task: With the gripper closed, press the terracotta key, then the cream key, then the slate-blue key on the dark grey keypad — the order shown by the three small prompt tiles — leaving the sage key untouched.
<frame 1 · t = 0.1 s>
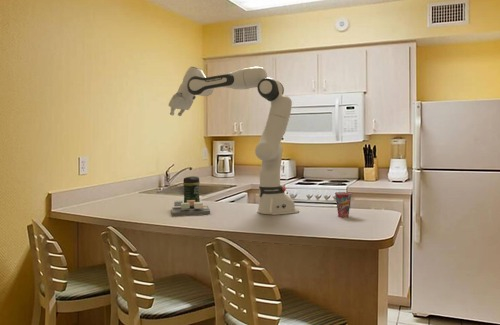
hand: (175, 115, 255), 54 cm above the countertop, tool tilted 30°, fingers open, 8 cm apart
cup: (344, 216, 224), on the countertop
key C: (191, 202, 248), point 5 cm above the countertop, slide at 0.0 cm
key A: (198, 205, 240), point 5 cm above the countertop, slide at 0.0 cm
key D: (178, 203, 247), point 5 cm above the countertop, slide at 0.0 cm
keypad board: (190, 212, 244), on the countertop
coffee jar: (192, 208, 260), on the countertop
key B: (185, 205, 239), point 5 cm above the countertop, slide at 0.0 cm
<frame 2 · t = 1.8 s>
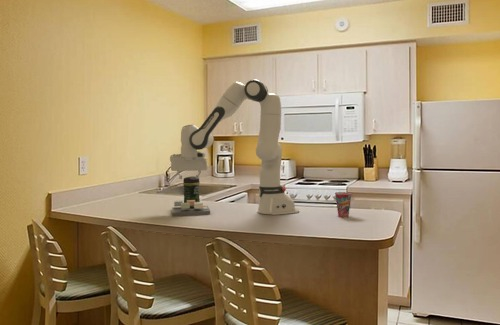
hand: (189, 178, 248), 18 cm above the countertop, tool pointing down, fingers open, 8 cm apart
nothing on the countertop moved.
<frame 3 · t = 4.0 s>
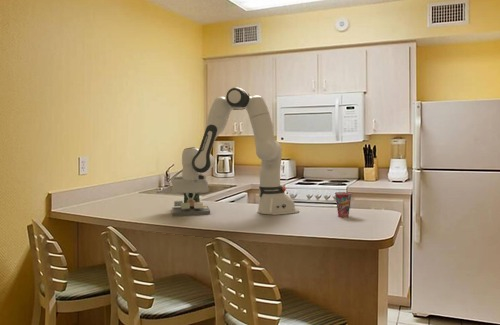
hand: (190, 200, 248), 6 cm above the countertop, tool pointing down, fingers closed, pressing on key C
key C: (191, 203, 248), point 5 cm above the countertop, slide at 0.2 cm, touching gripper
everything else where it was.
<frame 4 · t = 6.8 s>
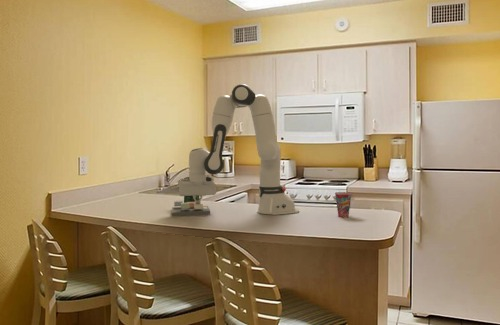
hand: (197, 203, 240), 5 cm above the countertop, tool pointing down, fingers closed, pressing on key A
key C: (191, 204, 248), point 4 cm above the countertop, slide at 1.0 cm
key A: (198, 206, 240), point 4 cm above the countertop, slide at 0.6 cm, touching gripper
everything else where it was.
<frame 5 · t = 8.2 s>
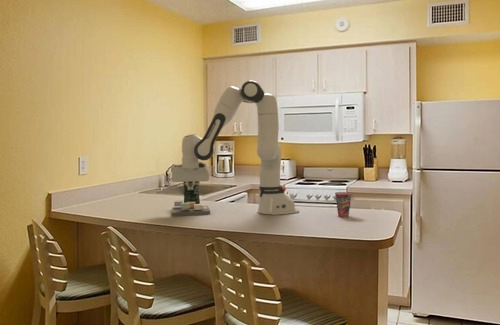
hand: (190, 189, 241), 13 cm above the countertop, tool pointing down, fingers closed
key A: (198, 206, 240), point 4 cm above the countertop, slide at 1.0 cm
everything else where it was.
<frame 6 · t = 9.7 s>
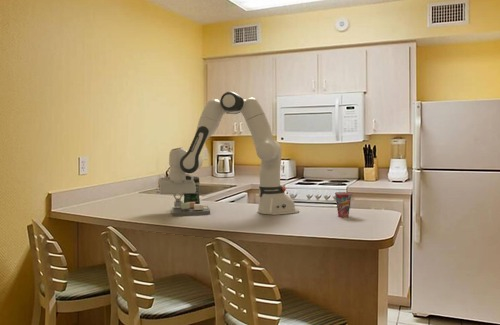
hand: (178, 201, 247), 6 cm above the countertop, tool pointing down, fingers closed, pressing on key D
key D: (178, 204, 247), point 4 cm above the countertop, slide at 0.3 cm, touching gripper
everything else where it was.
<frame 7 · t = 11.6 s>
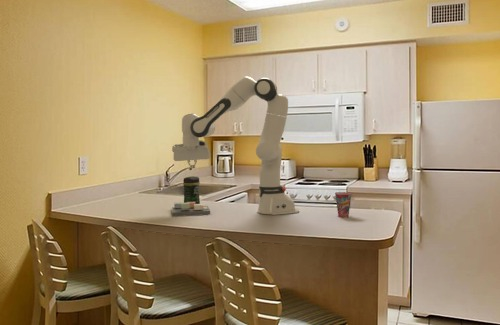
hand: (192, 168, 246), 24 cm above the countertop, tool pointing down, fingers closed
key D: (178, 205, 247), point 4 cm above the countertop, slide at 1.0 cm
everything else where it was.
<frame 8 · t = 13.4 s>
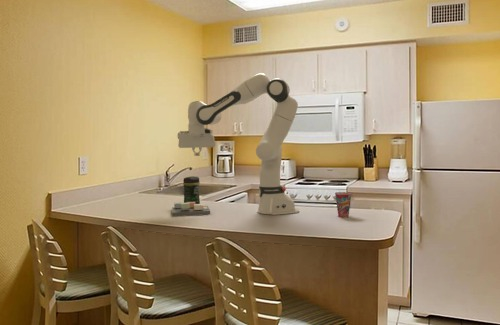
hand: (197, 155, 246), 31 cm above the countertop, tool pointing down, fingers closed
nothing on the countertop moved.
at the end: key C slide at 1.0 cm; key D slide at 1.0 cm; key B slide at 0.0 cm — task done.
